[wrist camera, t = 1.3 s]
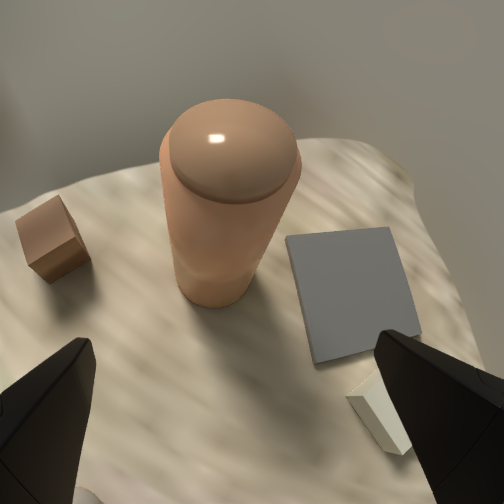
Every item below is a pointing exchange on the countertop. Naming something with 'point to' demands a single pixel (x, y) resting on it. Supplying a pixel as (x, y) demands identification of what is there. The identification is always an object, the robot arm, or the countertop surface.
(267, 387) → the countertop surface
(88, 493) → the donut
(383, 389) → the grey box
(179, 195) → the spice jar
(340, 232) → the slate coaster
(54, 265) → the walnut cube
